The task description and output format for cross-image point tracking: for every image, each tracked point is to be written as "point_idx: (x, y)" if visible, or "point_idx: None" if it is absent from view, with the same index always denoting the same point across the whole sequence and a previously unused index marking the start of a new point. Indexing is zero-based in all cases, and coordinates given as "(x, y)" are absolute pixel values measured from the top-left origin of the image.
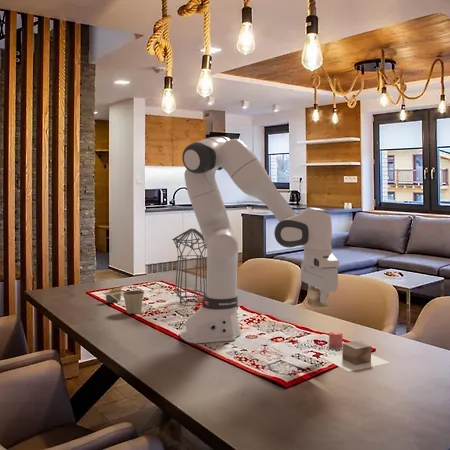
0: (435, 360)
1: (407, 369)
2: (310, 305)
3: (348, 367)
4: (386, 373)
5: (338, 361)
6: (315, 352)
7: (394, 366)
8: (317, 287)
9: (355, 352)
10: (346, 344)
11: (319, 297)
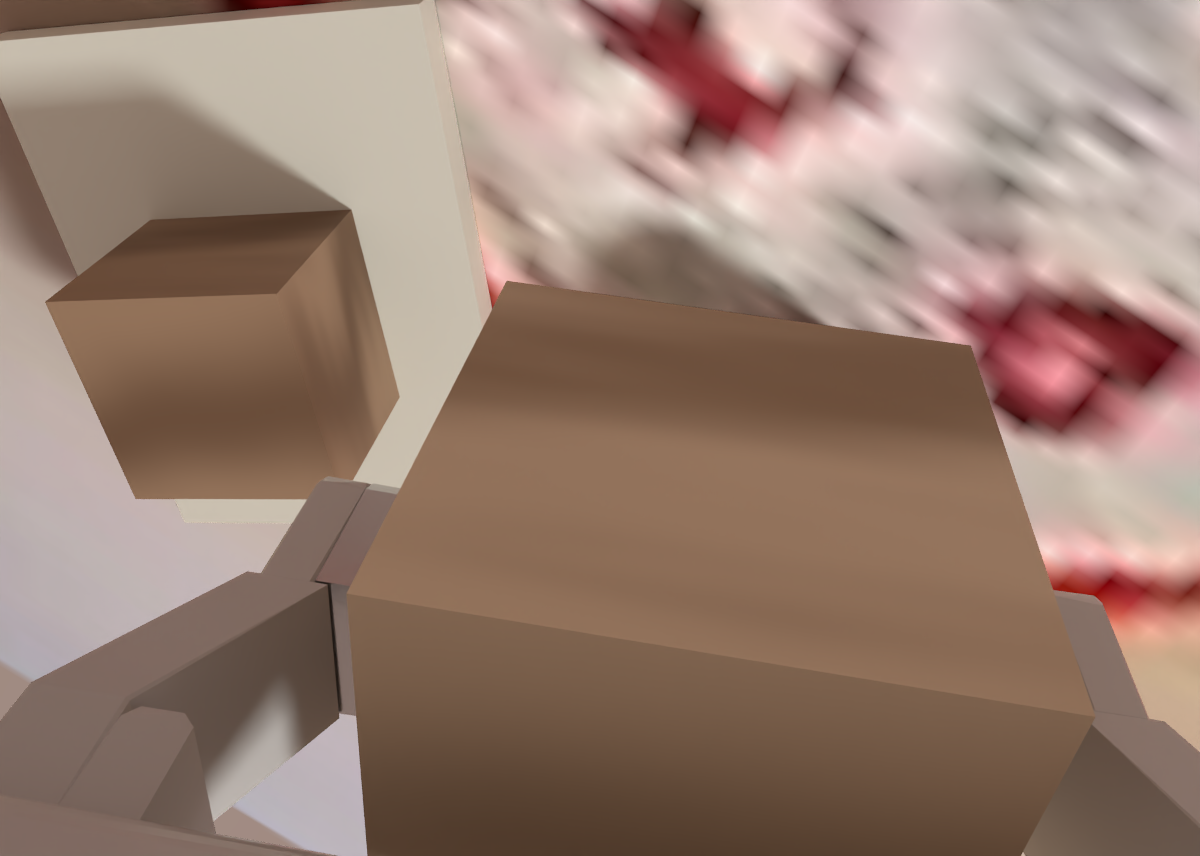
0: (280, 792)
1: (135, 562)
2: (761, 317)
3: (92, 111)
4: (58, 383)
5: (280, 118)
6: (776, 99)
7: (205, 529)
8: (101, 843)
9: (76, 281)
10: (219, 304)
11: (353, 577)
